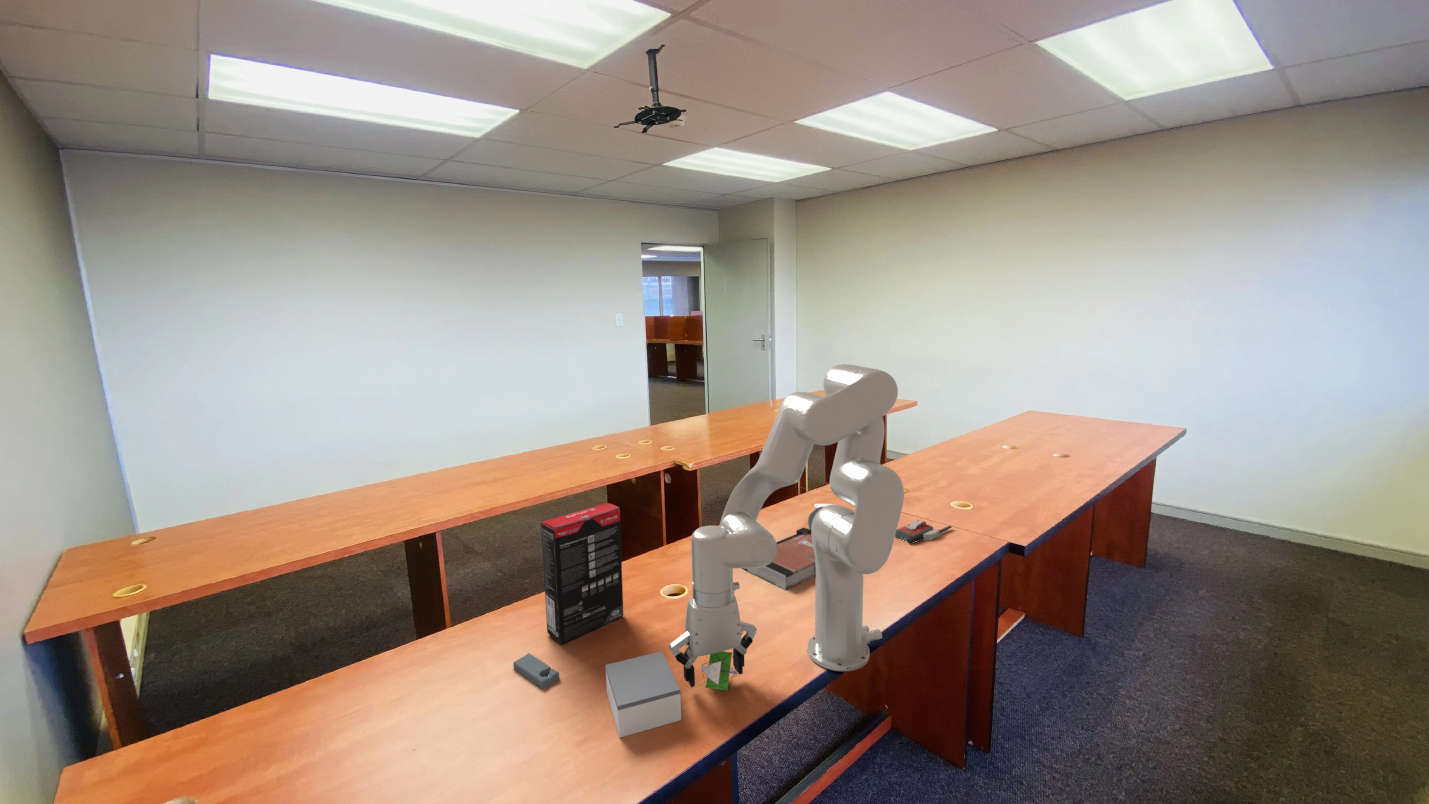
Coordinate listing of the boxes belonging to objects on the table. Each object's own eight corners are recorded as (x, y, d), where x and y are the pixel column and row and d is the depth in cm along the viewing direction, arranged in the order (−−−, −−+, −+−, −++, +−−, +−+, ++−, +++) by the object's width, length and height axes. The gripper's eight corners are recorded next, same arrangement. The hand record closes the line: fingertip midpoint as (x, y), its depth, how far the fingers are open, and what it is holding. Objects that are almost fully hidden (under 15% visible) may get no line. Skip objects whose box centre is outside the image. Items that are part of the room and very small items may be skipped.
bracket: (530, 660, 119) (529, 652, 118) (560, 680, 112) (559, 671, 112) (513, 670, 116) (512, 661, 115) (543, 691, 109) (542, 682, 109)
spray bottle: (808, 534, 179) (808, 508, 203) (843, 536, 178) (839, 509, 202) (808, 525, 179) (808, 500, 203) (843, 527, 177) (839, 501, 201)
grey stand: (663, 679, 111) (661, 651, 110) (681, 720, 100) (680, 689, 99) (607, 693, 107) (605, 664, 106) (619, 737, 96) (617, 706, 95)
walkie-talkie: (915, 549, 167) (953, 531, 179) (916, 534, 166) (954, 518, 178) (890, 539, 174) (929, 523, 186) (891, 525, 173) (929, 510, 185)
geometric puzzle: (701, 657, 114) (705, 639, 108) (735, 662, 114) (740, 644, 108) (697, 695, 108) (701, 677, 103) (732, 700, 108) (738, 682, 103)
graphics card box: (610, 606, 139) (604, 499, 134) (627, 616, 134) (621, 506, 129) (546, 635, 127) (537, 520, 122) (562, 648, 122) (553, 528, 117)
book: (787, 593, 144) (787, 574, 143) (740, 569, 157) (740, 552, 156) (850, 561, 160) (851, 544, 159) (803, 542, 173) (803, 527, 173)
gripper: (747, 575, 112) (748, 654, 115) (662, 592, 106) (665, 675, 109) (763, 593, 105) (764, 677, 108) (673, 612, 99) (676, 700, 102)
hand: (714, 676), depth 108 cm, fingers open, 9 cm apart
